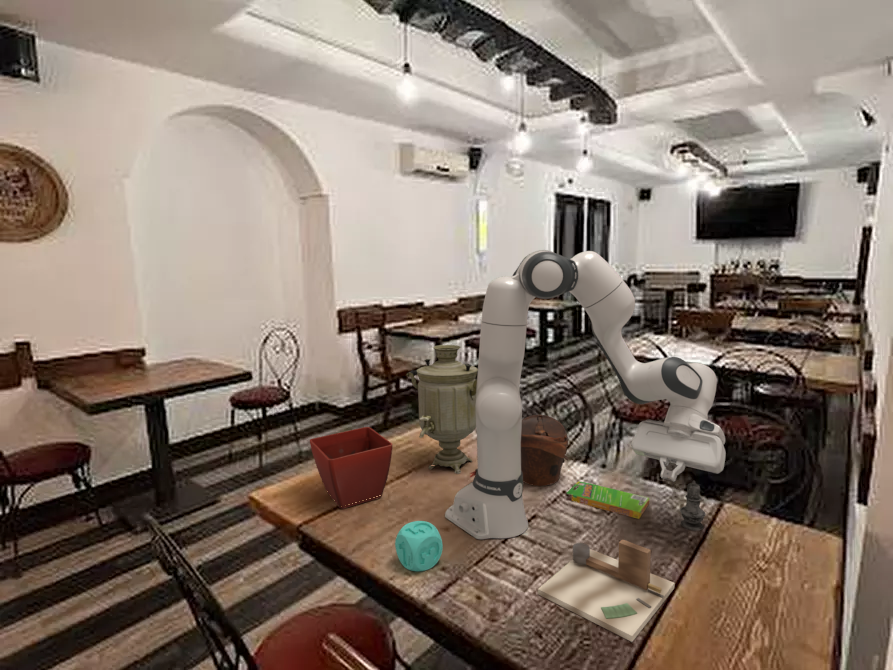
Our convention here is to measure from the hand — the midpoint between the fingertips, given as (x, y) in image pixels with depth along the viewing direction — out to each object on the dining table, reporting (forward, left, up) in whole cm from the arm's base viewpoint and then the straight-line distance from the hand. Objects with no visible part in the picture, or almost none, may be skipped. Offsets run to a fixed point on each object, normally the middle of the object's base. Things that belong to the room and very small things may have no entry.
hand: (667, 479), depth 118 cm
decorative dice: (-40, -41, -18) cm, 60 cm away
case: (-44, +14, -18) cm, 50 cm away
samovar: (-73, +1, -18) cm, 75 cm away
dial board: (-3, -23, -17) cm, 29 cm away
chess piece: (+1, +15, -18) cm, 23 cm away
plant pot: (-79, -31, -18) cm, 87 cm away
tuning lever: (-3, -19, -16) cm, 25 cm away
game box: (-21, +13, -18) cm, 31 cm away
